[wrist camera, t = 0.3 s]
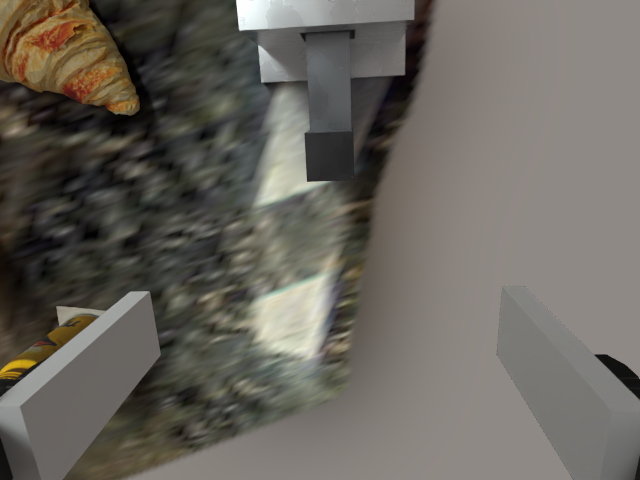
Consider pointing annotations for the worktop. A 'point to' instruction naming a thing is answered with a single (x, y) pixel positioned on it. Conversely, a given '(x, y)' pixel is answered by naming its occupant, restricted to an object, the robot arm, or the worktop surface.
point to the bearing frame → (327, 15)
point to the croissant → (64, 53)
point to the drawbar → (329, 107)
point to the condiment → (50, 341)
